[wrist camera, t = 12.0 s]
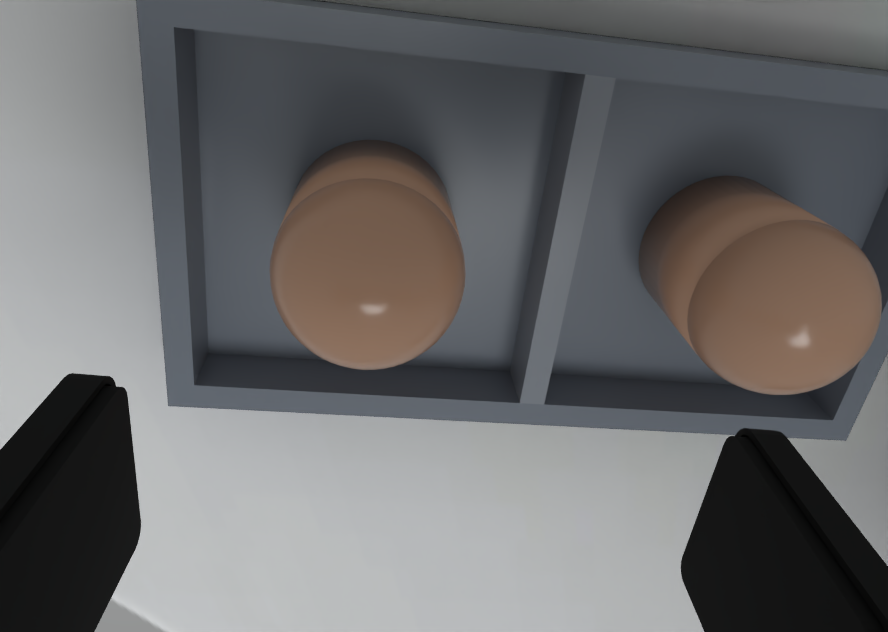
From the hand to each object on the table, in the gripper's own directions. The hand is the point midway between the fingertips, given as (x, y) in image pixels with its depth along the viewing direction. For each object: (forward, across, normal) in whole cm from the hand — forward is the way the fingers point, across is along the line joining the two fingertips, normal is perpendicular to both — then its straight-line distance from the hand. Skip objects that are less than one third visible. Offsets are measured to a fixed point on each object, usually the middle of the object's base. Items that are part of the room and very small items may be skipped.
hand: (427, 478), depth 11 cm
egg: (+11, +2, 0) cm, 11 cm away
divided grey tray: (+12, -4, 0) cm, 13 cm away
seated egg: (+12, -9, 0) cm, 15 cm away
